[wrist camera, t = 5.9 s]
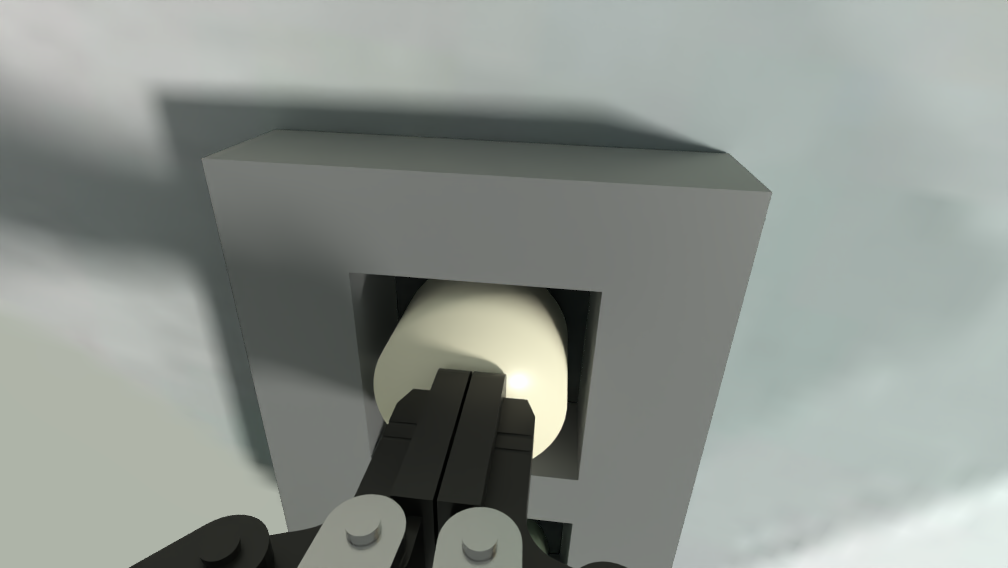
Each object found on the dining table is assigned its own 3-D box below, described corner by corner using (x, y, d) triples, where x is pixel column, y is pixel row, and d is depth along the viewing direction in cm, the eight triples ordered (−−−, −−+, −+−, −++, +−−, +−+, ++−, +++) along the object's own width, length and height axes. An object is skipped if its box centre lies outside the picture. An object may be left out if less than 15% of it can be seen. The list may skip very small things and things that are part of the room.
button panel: (275, 129, 13) (200, 158, 11) (729, 153, 12) (772, 192, 10) (360, 640, 23) (332, 721, 21) (613, 676, 22) (618, 765, 20)
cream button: (400, 255, 13) (365, 306, 11) (575, 268, 13) (575, 324, 11) (409, 394, 15) (381, 461, 13) (561, 409, 15) (559, 480, 13)
